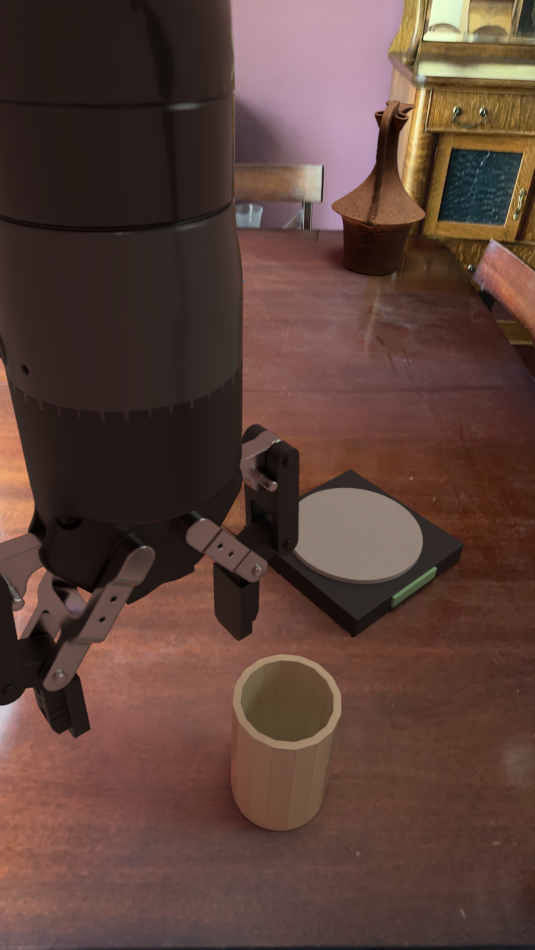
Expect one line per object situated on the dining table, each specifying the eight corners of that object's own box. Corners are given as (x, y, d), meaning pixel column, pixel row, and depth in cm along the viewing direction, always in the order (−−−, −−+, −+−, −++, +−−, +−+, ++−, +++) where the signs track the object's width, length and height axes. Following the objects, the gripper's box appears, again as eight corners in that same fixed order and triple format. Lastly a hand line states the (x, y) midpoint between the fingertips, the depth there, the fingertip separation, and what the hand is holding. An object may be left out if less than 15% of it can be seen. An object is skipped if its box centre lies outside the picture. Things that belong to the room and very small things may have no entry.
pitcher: (409, 289, 120) (440, 113, 103) (316, 275, 124) (332, 102, 107) (419, 256, 134) (449, 96, 117) (335, 245, 137) (352, 87, 120)
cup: (345, 789, 47) (363, 705, 41) (274, 852, 44) (283, 771, 37) (282, 723, 51) (290, 637, 45) (212, 776, 47) (211, 691, 41)
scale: (462, 561, 66) (468, 540, 64) (356, 639, 58) (360, 617, 56) (348, 484, 75) (351, 464, 73) (243, 542, 66) (243, 521, 65)
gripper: (-67, 477, 16) (47, 832, 25) (365, 331, 23) (327, 647, 32) (-147, 360, 20) (-26, 696, 30) (234, 270, 28) (234, 561, 37)
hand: (159, 670), depth 31 cm, fingers open, 8 cm apart
